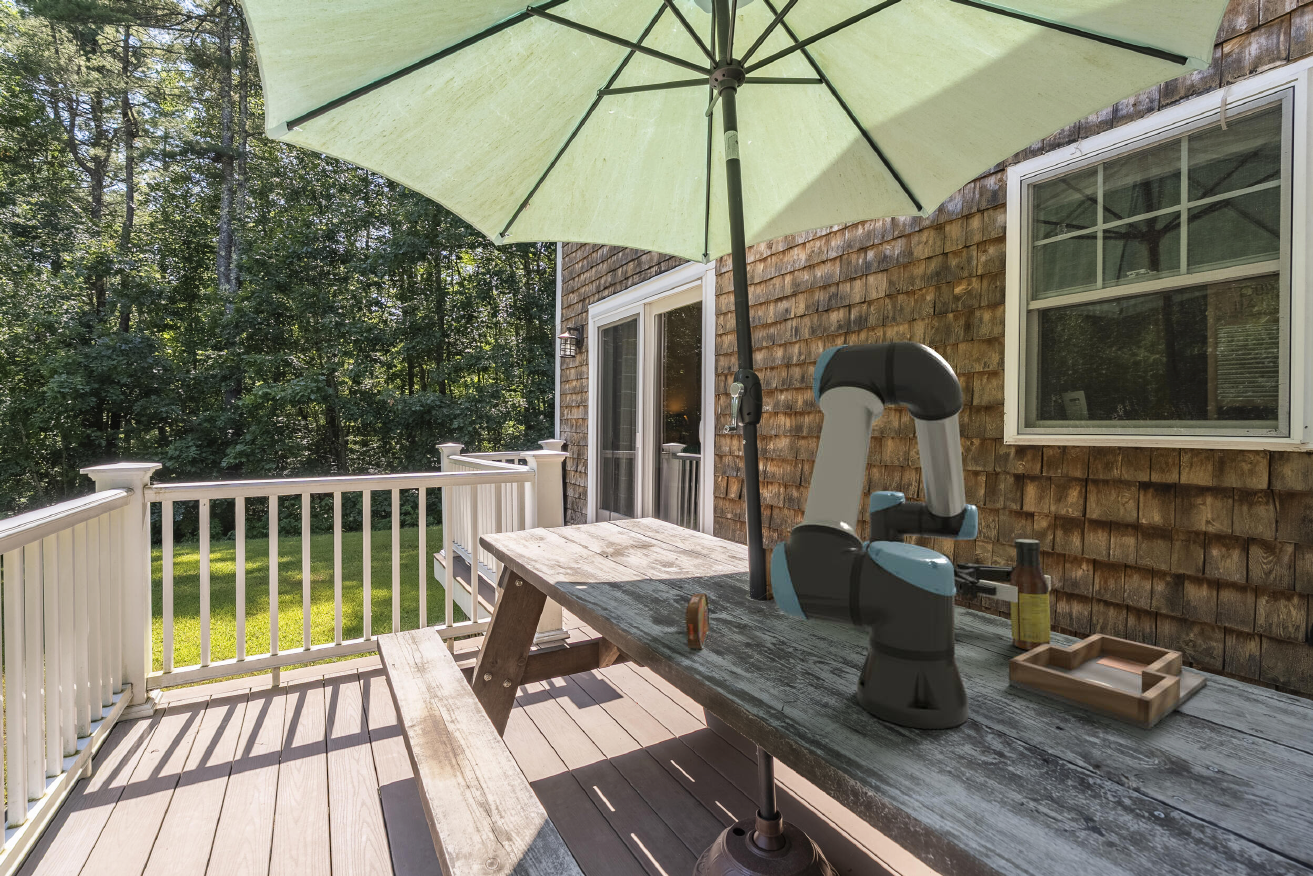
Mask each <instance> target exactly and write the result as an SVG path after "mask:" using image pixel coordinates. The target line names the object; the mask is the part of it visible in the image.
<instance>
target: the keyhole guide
mask: <svg viewBox="0 0 1313 876" xmlns="http://www.w3.org/2000/svg"><path fill="white" fill-rule="evenodd" d="M1207 678H1208V677H1207V676H1204V675H1199V674H1195V673H1192V672H1187V671H1183V652H1181V651H1176V650H1172V649H1167V648H1163V647H1159V646H1156V645H1155V646H1154V645H1150V644H1147V643H1146V644H1145V643H1141V642H1137V641H1132V640H1130V639H1129V640H1128V639H1124V638H1119V637H1116V636H1110V635H1106V634H1103V633H1098V632H1097V633H1095V634H1092V635H1090V636H1088V637H1087V638H1084V639H1083V640H1081V641H1078V642H1076V643H1074V644H1073V645H1070V646H1068V647H1066V648H1064V647H1061V646H1057V645H1053V644H1051V643H1050V644H1043V645H1041V646H1039V647H1037V648H1035V649H1032V650H1030V651H1028V650H1027V651H1026V652H1024V653H1021V654H1019V655H1016V656H1015V657H1013V658H1011V659H1009V660H1008V685H1009V684H1010V685H1013V686H1016V687H1019V688H1020V690H1022V689H1024V690H1023V691H1025V690H1027V691H1026V692H1028V691H1030V692H1029V693H1032V692H1033V693H1032V694H1035V693H1037V694H1036V695H1038V694H1039V695H1038V696H1041V695H1042V696H1041V697H1044V696H1046V697H1045V698H1047V697H1049V698H1048V699H1050V698H1052V699H1051V700H1053V699H1054V701H1056V700H1057V702H1059V703H1063V702H1064V703H1063V704H1066V705H1070V706H1073V707H1076V708H1079V709H1081V710H1085V711H1088V712H1090V713H1094V714H1096V715H1100V716H1103V717H1106V718H1110V719H1113V720H1115V719H1116V721H1119V722H1123V723H1125V724H1128V725H1131V726H1135V727H1138V728H1141V729H1144V730H1148V731H1150V730H1151V729H1152V728H1153V727H1155V726H1156V725H1157V724H1158V723H1159V722H1161V721H1162V720H1163V719H1164V718H1166V717H1167V716H1168V715H1170V713H1172V712H1173V711H1174V710H1175V709H1177V708H1178V707H1179V706H1181V705H1182V704H1183V703H1185V702H1186V700H1188V699H1189V698H1191V696H1193V695H1194V694H1195V693H1197V692H1198V691H1199V690H1200V689H1201V688H1203V687H1204V686H1205V685H1207ZM1010 685H1009V686H1010ZM1013 686H1012V687H1013ZM1016 687H1015V688H1016ZM1019 688H1018V689H1019ZM1165 716H1166V717H1165ZM1162 718H1163V719H1162ZM1161 719H1162V720H1161ZM1160 720H1161V721H1160ZM1155 724H1156V725H1155ZM1154 725H1155V726H1154ZM1151 727H1152V728H1151ZM1149 729H1150V730H1149Z"/></svg>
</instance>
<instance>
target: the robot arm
mask: <svg viewBox="0 0 1313 876" xmlns="http://www.w3.org/2000/svg"><path fill="white" fill-rule="evenodd" d="M817 358H818V359H817V361H816V363H815V366H814V370H813V375H812V378H813V382H812V393H813V397H814V400H815V402H816V403H817V405H819V408H820V411H821V412H822V413H823V414H824V419H823V423H822V428H821V433H820V438H819V441H818V442H819V443H818V448H817V451H816V456H815V461H814V465H813V471H812V475H811V481H810V486H809V491H808V494H807V495H808V496H807V500H806V504H805V508H804V509H805V510H804V514H803V518H802V519H803V520H802V522H800V523H799V524H797V525H795V526H793V528H792V529H791V531H790V536H789V540H788V541H782V542H777V544H776V545H775V547H774V548H773V551H772V554H771V560H770V583H771V589H772V593H773V598H774V601H775V603H776V605H777V607H778V609H779V610H780V611H781V613H783V614H785V615H787V616H791V617H795V618H800V619H804V620H805V621H811V620H812V621H817V622H823V623H829V624H837V625H842V626H843V625H844V626H849V627H856V628H861V629H867V630H868V632H869V633H868V634H869V639H868V640H869V643H868V644H869V648H868V651H867V654H866V656H865V659H864V662H863V666H862V667H861V671H860V674H859V677H858V680H857V685H856V687H857V689H856V690H857V691H856V692H857V693H856V694H857V703H859V705H860V706H861V707H862V708H863V709H864V710H865V711H867V712H868V713H870V714H871V715H873V716H875V717H877V718H879V719H881V720H884V721H886V722H890V723H893V724H896V725H900V726H903V727H909V728H915V729H916V728H917V729H925V730H927V729H928V730H939V729H943V730H944V729H950V728H955V727H957V726H960V725H961V724H963V723H965V722H966V721H967V719H968V718H969V697H968V693H967V691H966V689H965V685H964V682H963V679H962V675H961V673H960V671H959V667H958V664H957V661H956V656H955V655H956V653H955V651H956V650H955V649H956V647H955V643H956V641H955V637H956V636H955V635H956V634H955V629H956V627H955V623H956V622H955V601H956V600H955V599H956V598H955V595H956V594H957V593H958V594H960V595H963V596H970V598H971V599H975V600H977V599H978V595H979V596H983V597H987V598H992V599H997V600H1002V601H1006V602H1010V601H1011V602H1015V603H1016V602H1018V587H1015V586H1011V584H1010V585H1009V584H1003V583H1010V575H1011V573H1012V572H1013V570H1014V569H1015V566H1016V565H1011V566H1002V565H1001V566H1000V565H999V566H998V565H986V564H977V563H971V562H970V563H969V562H963V563H962V562H960V563H959V562H957V563H955V564H953V562H952V560H951V558H950V556H949V555H948V554H947V553H943V552H938V551H936V550H933V549H931V548H927V547H923V546H919V545H916V544H915V545H914V544H911V543H906V542H905V541H906V540H905V537H906V536H911V537H912V536H914V537H924V538H935V539H936V538H937V539H948V540H953V541H954V540H955V541H956V540H963V541H964V540H965V541H968V540H970V541H972V540H975V539H976V538H977V536H978V532H979V531H978V528H979V515H978V507H977V506H976V505H975V504H969V503H966V495H965V493H966V492H965V481H964V471H963V460H962V458H963V457H962V446H961V436H960V424H959V414H960V412H961V411H962V409H963V407H964V399H963V391H962V387H961V383H960V381H959V378H958V377H957V375H956V373H955V372H954V370H953V368H952V367H951V365H950V364H949V363H948V362H947V361H946V360H945V359H944V358H943V357H942V356H941V355H940V354H939V353H937V352H936V351H935V350H934V349H932V348H930V347H928V346H927V345H924V344H922V343H919V342H915V341H909V340H900V341H894V342H893V341H892V342H880V343H878V342H877V343H866V344H851V345H850V344H843V345H840V346H835V347H834V346H833V347H829V348H827V349H824V351H822V353H821V354H820V355H819V357H817ZM890 405H891V406H892V405H893V406H895V405H896V406H897V405H898V406H899V405H905V406H906V408H907V413H908V414H909V415H910V417H911V418H913V419H914V424H915V432H916V433H915V434H916V440H917V446H918V453H919V459H920V460H919V462H920V467H921V468H920V469H921V474H922V475H921V476H922V480H923V481H922V482H923V489H924V496H925V502H922V501H910V500H906V498H905V494H904V493H903V492H901V491H892V490H890V491H889V490H885V491H884V490H883V491H882V490H881V491H880V490H878V491H875V492H871V494H870V496H869V507H868V508H869V510H868V520H869V521H868V522H869V523H868V524H869V528H868V529H869V531H868V533H869V538H868V540H867V541H865V542H863V540H862V539H861V538H860V537H859V536H858V535H857V533H856V529H857V525H858V524H857V523H858V519H859V512H860V504H861V499H862V494H863V493H862V492H863V487H864V481H865V473H866V470H867V469H866V467H867V461H868V457H869V448H870V444H871V437H872V430H873V424H874V422H877V421H878V420H879V419H880V418H882V416H883V414H884V412H885V411H884V410H885V406H890ZM1044 576H1045V579H1046V581H1047V584H1048V587H1049V592H1050V591H1051V588H1052V586H1051V584H1052V582H1051V581H1052V578H1051V577H1052V576H1050V575H1045V574H1044ZM999 582H1000V583H999ZM1002 582H1003V583H1002Z"/></svg>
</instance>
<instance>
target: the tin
mask: <svg viewBox="0 0 1313 876" xmlns="http://www.w3.org/2000/svg"><path fill="white" fill-rule="evenodd" d="M709 611H710V610H709V601H708V596H707V593H706V592H704V593H694V594H693V595H692V596H691V597H690V599H689V602H688V604H687V606H686V608H685V626H686V637H687V638H686V639H687V640H686V643H687V647H688V648H689V649H690V650H704V648H702V645H703V642H704V639H705V637H706V636H705V635H706V633H707V632H708V631H709V630H710V612H709ZM709 632H710V631H709Z"/></svg>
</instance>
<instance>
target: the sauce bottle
mask: <svg viewBox="0 0 1313 876" xmlns="http://www.w3.org/2000/svg"><path fill="white" fill-rule="evenodd" d="M1014 548H1015V550H1016V551H1015V552H1016V554H1015V555H1016V560H1015V563H1016V564H1015V565H1014V566H1015V569H1014V570H1013V572H1012V573H1011V575H1010V582H1009V583H1010V586H1015V587H1018V602H1016V603H1015V602H1011V601H1009V602H1010V622H1011V624H1010V625H1011V630H1010V631H1011V637H1012V644H1013V646H1015V647H1016V648H1017V647H1018V648H1019V649H1022V650H1025V651H1027V652H1028V651H1030V650H1032V649H1035V648H1037V647H1039V646H1041V645H1043V644H1050V645H1051V640H1052V638H1051V633H1052V632H1051V611H1050V591H1049V587H1048V584H1047V581H1046V579H1045V576H1044V575H1045V573H1044V570H1043V568H1042V565H1041V560H1040V550H1041V542H1040V541H1039V540H1036V539H1027V538H1025V539H1024V538H1023V539H1022V538H1020V539H1015V540H1014Z"/></svg>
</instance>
